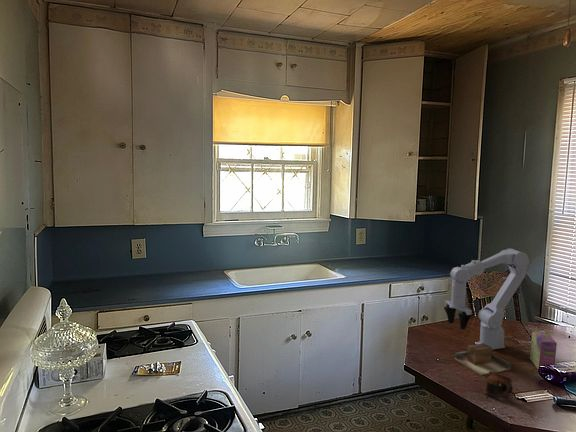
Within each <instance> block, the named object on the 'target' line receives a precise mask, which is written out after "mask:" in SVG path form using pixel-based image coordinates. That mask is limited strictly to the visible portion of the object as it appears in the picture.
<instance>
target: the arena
mask: <svg viewBox="0 0 576 432" xmlns="http://www.w3.org/2000/svg"><path fill="white" fill-rule="evenodd" d="M453 357H454V360H456V361H458V362H459V363H460V364H462V365H463V366H465V367H467V368H469V369H470V370H471V371H473V372H475V373H477V374H479V376H483V375H489V374H490V373H489V372H490V371H491V372H495V373H501V372H505V371H511V362H509V361H508V360H505V359H503V358H501V357H499V356H497V355H496V354H494V353H492V354H491V362H488V363H482V364H476V365H474V364H473V363H471V362H469V361H468V360H467V350H464V351H458V352H454V356H453Z"/></svg>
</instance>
